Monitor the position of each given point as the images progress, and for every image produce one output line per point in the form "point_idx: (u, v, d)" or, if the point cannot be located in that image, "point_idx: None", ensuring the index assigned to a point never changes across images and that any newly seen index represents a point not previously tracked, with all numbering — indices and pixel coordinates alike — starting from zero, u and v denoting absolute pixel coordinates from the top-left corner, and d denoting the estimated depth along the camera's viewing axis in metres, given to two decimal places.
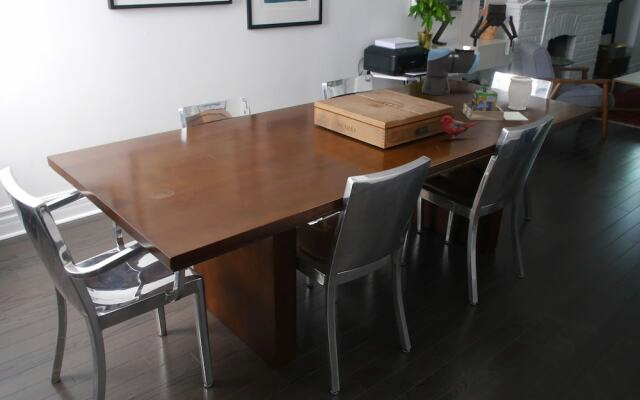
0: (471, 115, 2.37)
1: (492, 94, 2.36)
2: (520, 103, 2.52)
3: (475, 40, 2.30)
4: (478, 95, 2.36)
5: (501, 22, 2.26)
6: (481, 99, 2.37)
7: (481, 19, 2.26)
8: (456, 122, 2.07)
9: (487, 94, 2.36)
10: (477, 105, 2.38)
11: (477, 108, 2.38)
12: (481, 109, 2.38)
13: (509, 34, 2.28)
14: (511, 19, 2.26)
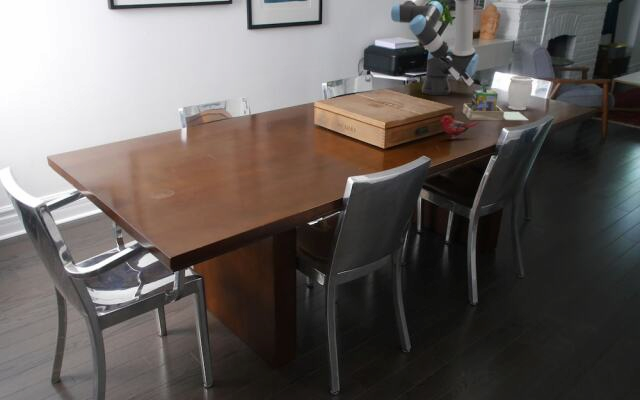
0: (471, 115, 2.37)
1: (492, 94, 2.36)
2: (520, 103, 2.52)
3: (449, 69, 2.41)
4: (478, 95, 2.36)
5: (445, 62, 2.29)
6: (481, 99, 2.37)
7: None
8: (456, 122, 2.07)
9: (487, 94, 2.36)
10: (477, 105, 2.38)
11: (477, 108, 2.38)
12: (481, 109, 2.38)
13: (457, 71, 2.27)
14: (448, 61, 2.25)
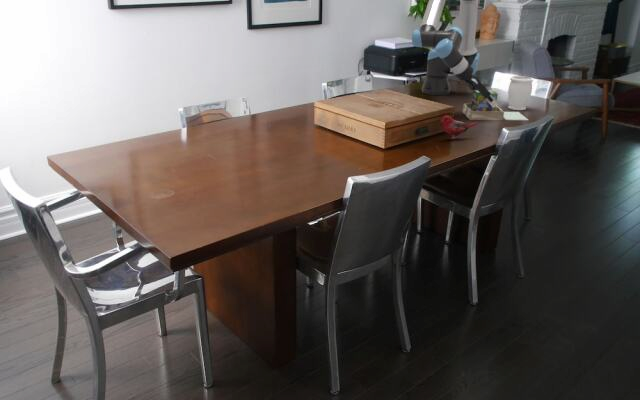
0: (471, 115, 2.37)
1: (492, 94, 2.36)
2: (520, 103, 2.52)
3: None
4: (478, 95, 2.36)
5: (470, 84, 2.35)
6: (481, 99, 2.37)
7: None
8: (456, 122, 2.07)
9: None
10: (477, 105, 2.38)
11: (477, 108, 2.38)
12: (481, 109, 2.38)
13: None
14: (474, 84, 2.31)
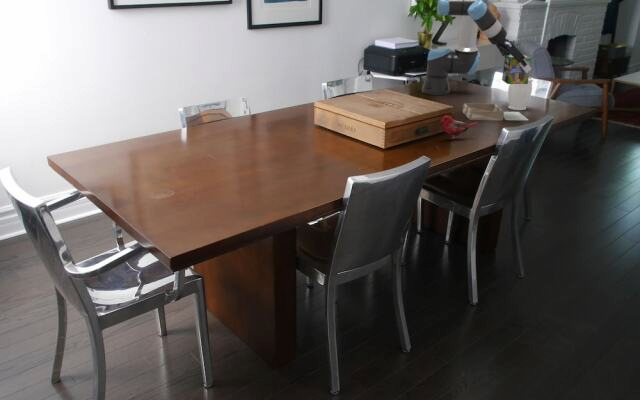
0: (471, 115, 2.37)
1: (526, 58, 2.28)
2: (520, 103, 2.52)
3: None
4: (511, 59, 2.29)
5: (503, 48, 2.28)
6: (514, 64, 2.29)
7: (495, 43, 2.35)
8: (456, 122, 2.07)
9: None
10: (510, 70, 2.31)
11: (510, 73, 2.31)
12: (514, 74, 2.31)
13: (515, 58, 2.27)
14: (508, 47, 2.24)
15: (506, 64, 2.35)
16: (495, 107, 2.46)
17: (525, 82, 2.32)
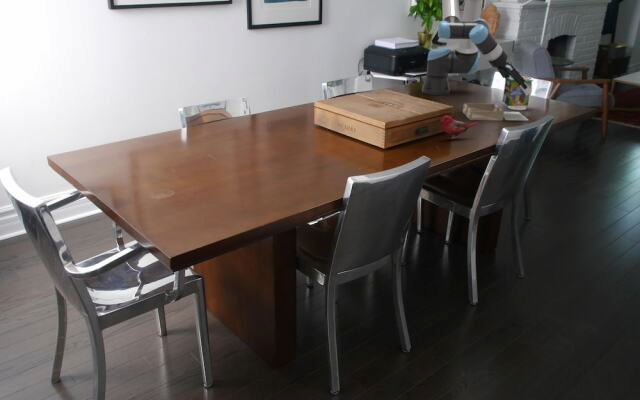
0: (471, 115, 2.37)
1: (526, 81, 2.32)
2: None
3: None
4: (512, 82, 2.33)
5: (504, 71, 2.32)
6: (515, 86, 2.33)
7: None
8: (456, 122, 2.07)
9: None
10: (510, 92, 2.34)
11: (510, 95, 2.35)
12: (514, 96, 2.35)
13: None
14: (508, 71, 2.27)
15: (507, 86, 2.38)
16: (495, 107, 2.46)
17: (525, 104, 2.36)
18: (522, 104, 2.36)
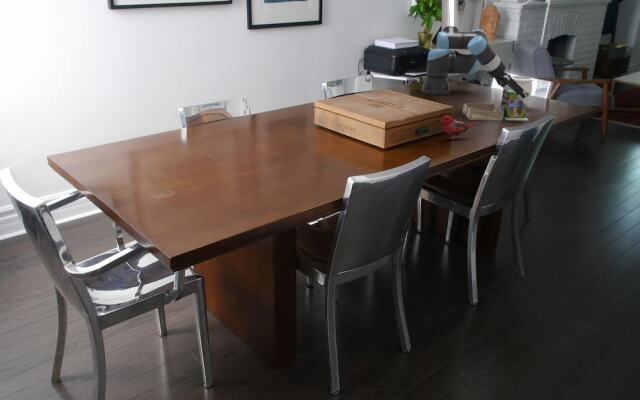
0: (471, 115, 2.37)
1: None
2: None
3: (503, 87, 2.46)
4: (509, 94, 2.36)
5: (502, 81, 2.34)
6: (512, 98, 2.36)
7: None
8: (456, 122, 2.07)
9: None
10: (508, 104, 2.38)
11: (508, 107, 2.38)
12: (512, 108, 2.38)
13: (514, 90, 2.32)
14: (506, 80, 2.30)
15: (504, 98, 2.41)
16: (495, 107, 2.46)
17: (523, 116, 2.39)
18: (519, 116, 2.39)
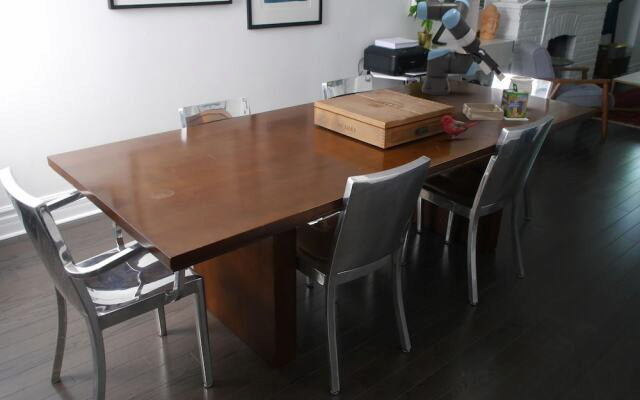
0: (471, 115, 2.37)
1: (523, 93, 2.35)
2: None
3: (479, 64, 2.40)
4: (509, 94, 2.36)
5: (477, 57, 2.28)
6: (512, 98, 2.36)
7: None
8: (456, 122, 2.07)
9: (518, 93, 2.36)
10: (508, 104, 2.38)
11: (508, 107, 2.38)
12: (512, 108, 2.38)
13: (489, 66, 2.26)
14: (481, 55, 2.24)
15: (504, 98, 2.41)
16: (495, 107, 2.46)
17: (523, 116, 2.39)
18: (519, 116, 2.39)
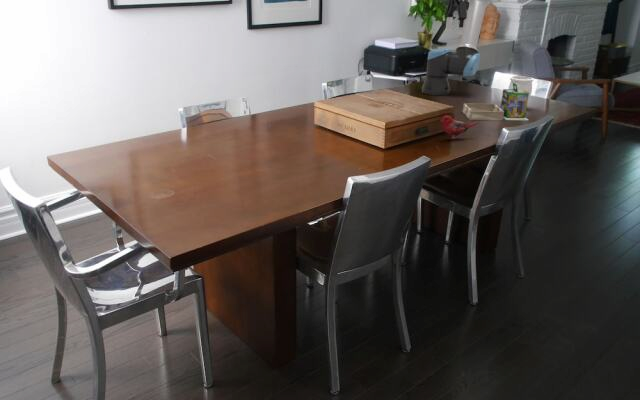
0: (471, 115, 2.37)
1: (523, 93, 2.35)
2: None
3: None
4: (509, 94, 2.36)
5: (455, 2, 2.40)
6: (512, 98, 2.36)
7: None
8: (456, 122, 2.07)
9: (518, 93, 2.36)
10: (508, 104, 2.38)
11: (508, 107, 2.38)
12: (512, 108, 2.38)
13: (458, 14, 2.39)
14: (460, 0, 2.36)
15: (504, 98, 2.41)
16: (495, 107, 2.46)
17: (523, 116, 2.39)
18: (519, 116, 2.39)
